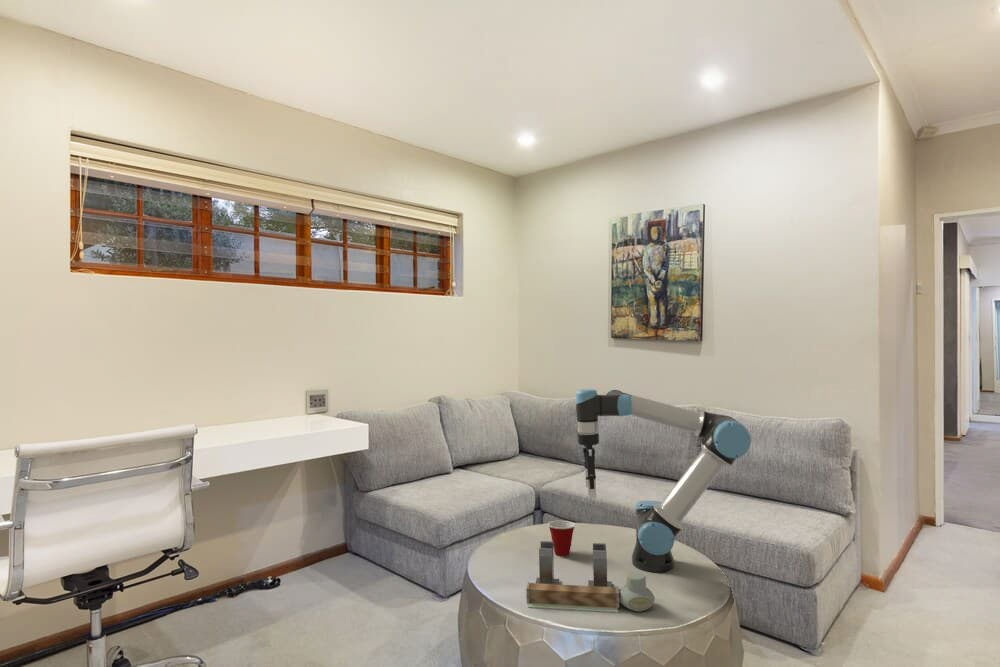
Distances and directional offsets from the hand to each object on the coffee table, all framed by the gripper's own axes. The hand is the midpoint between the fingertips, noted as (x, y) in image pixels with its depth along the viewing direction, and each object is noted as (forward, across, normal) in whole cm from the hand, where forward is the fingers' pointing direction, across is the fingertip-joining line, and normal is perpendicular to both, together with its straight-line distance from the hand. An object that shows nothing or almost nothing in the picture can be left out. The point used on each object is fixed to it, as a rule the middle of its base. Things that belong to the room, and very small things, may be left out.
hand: (590, 492), depth 195 cm
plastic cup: (+30, -19, -11) cm, 37 cm away
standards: (+30, +10, -8) cm, 32 cm away
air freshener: (+30, +21, +11) cm, 39 cm away
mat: (+30, +20, -9) cm, 37 cm away
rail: (+29, +20, -9) cm, 37 cm away
